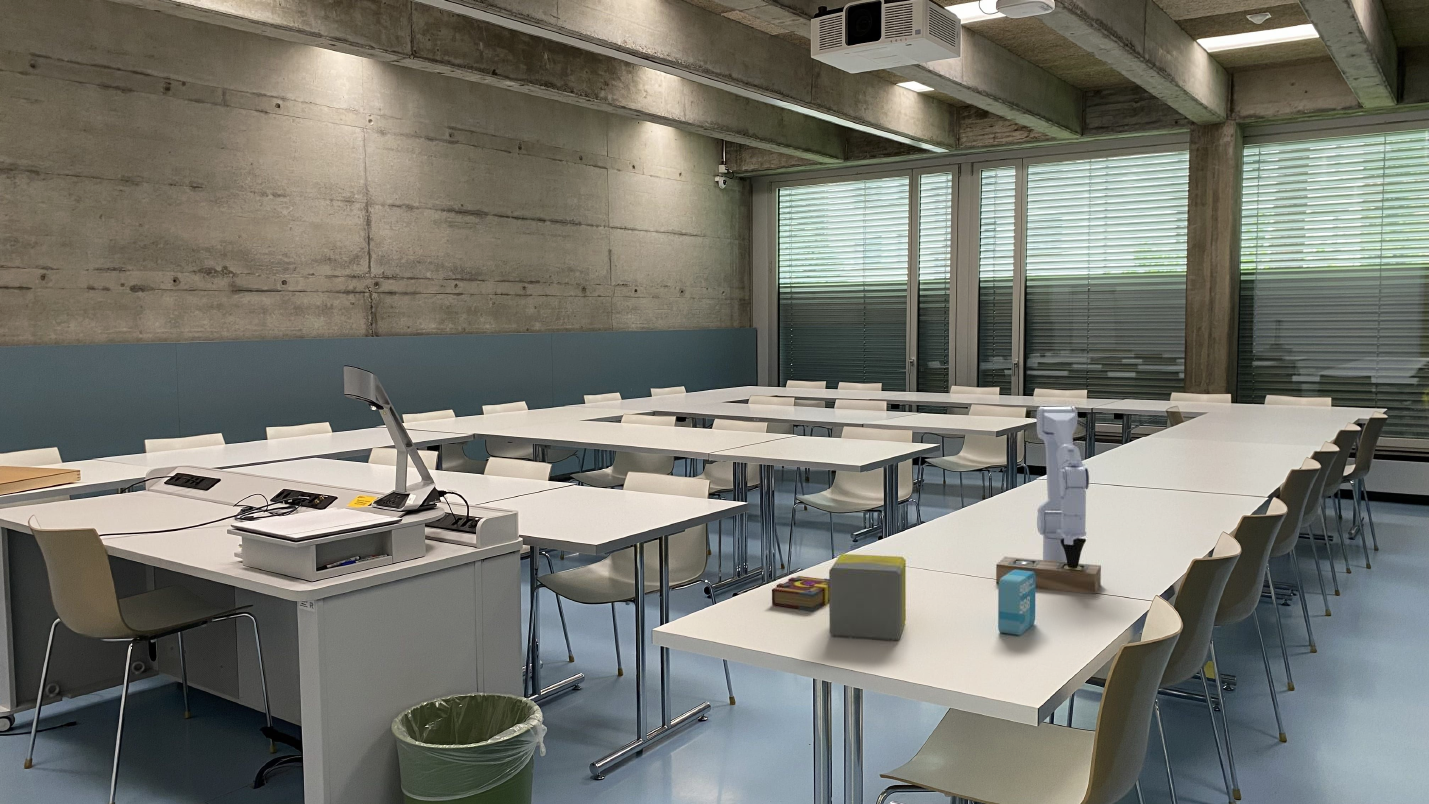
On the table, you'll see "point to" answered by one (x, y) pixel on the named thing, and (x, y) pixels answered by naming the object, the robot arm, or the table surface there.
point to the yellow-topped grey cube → (867, 597)
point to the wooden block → (1055, 574)
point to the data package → (1016, 602)
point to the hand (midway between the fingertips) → (1072, 567)
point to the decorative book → (802, 593)
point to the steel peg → (1024, 562)
